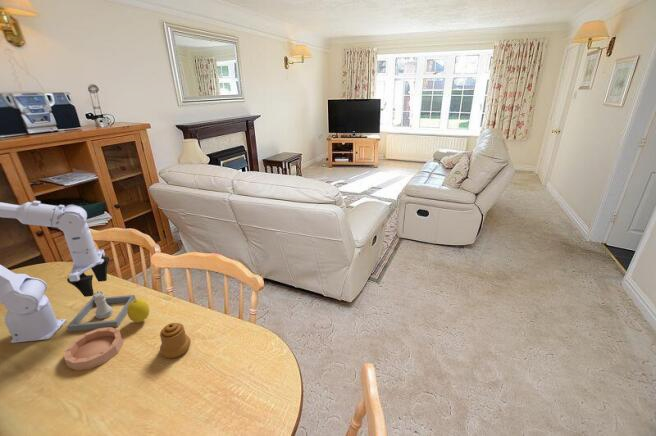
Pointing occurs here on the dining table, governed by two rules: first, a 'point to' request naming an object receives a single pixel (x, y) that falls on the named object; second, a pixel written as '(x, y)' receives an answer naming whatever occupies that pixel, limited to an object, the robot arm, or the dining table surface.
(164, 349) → the ornamental finial
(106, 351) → the bowl
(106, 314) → the rook chess piece
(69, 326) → the grey square frame
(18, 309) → the robot arm
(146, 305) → the lemon
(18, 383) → the dining table surface
